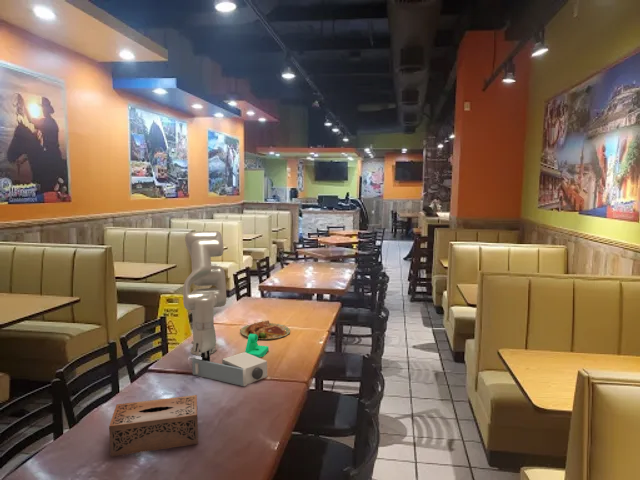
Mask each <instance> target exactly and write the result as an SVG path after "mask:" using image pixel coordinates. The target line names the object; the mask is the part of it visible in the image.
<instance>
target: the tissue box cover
mask: <svg viewBox="0 0 640 480" xmlns="http://www.w3.org/2000/svg"><path fill="white" fill-rule="evenodd" d="M198 419H199V418H198V395H197V394H194V395H193V394H192V395H185V396H177V397H169V398H168V397H167V398H159V399H153V400H144V401H143V400H142V401H136V402H126V403H125V402H124V403H118V404H117V403H116V405H115V407H114V410H113V414H112V417H111V419H110V422H109V425H108V431H109V449H110V451H109V452H110V457H117V456H124V455H132V454H137V453H143V452H144V453H145V452H151V451H157V450H162V449H163V450H164V449H165V450H166V449H171V448H172V449H173V448H178V447H184V446H192V445H197V444H199V429H198V428H199V426H198V425H199V422H198Z"/></svg>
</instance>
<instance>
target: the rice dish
mask: <svg viewBox="0 0 640 480" xmlns="http://www.w3.org/2000/svg"><path fill="white" fill-rule="evenodd" d="M285 330H286V331H285ZM239 332H240V333H241V334H242V335H243V336H244V337H245V336H246V337H247V338H248V336H249V334H257V335H258V340H269V339H270V340H275V339H280V338H283V337H286V336H287V335H289V334H290V333H291V329H290V328H289V327H287V326H286V325H283V324H280V323H273V322H270V320H264V321H263V320H262V321H257V322H254V323H251V324H248V325H245V326H242V327H241V328H240V329H239Z"/></svg>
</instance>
